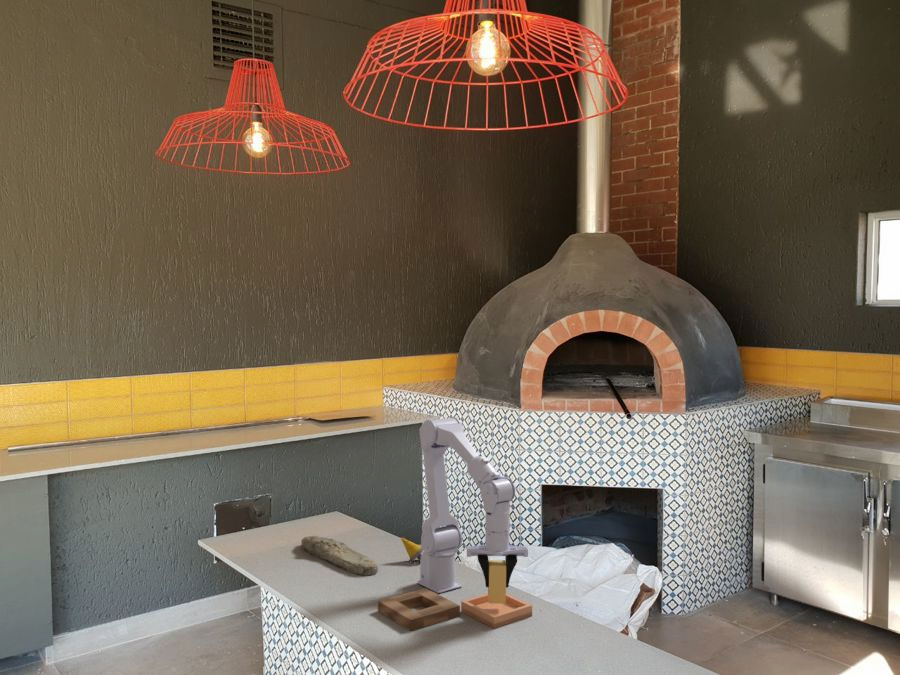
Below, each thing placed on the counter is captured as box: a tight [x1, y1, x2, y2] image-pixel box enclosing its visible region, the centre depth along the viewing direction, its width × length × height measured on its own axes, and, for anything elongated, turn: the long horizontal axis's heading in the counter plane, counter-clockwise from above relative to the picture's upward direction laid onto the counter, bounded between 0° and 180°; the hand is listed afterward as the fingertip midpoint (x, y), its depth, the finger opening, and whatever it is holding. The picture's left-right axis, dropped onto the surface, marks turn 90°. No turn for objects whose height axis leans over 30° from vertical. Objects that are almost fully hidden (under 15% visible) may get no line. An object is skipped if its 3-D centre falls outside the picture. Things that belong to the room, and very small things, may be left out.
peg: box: [487, 559, 507, 603], centre depth 179 cm, size 4×4×9 cm
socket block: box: [377, 587, 461, 632], centre depth 179 cm, size 14×14×2 cm
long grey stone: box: [300, 535, 379, 576], centre depth 217 cm, size 35×5×10 cm
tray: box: [460, 593, 533, 629], centre depth 179 cm, size 12×12×2 cm
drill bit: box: [400, 536, 424, 563], centre depth 216 cm, size 5×5×10 cm
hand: (496, 585), depth 179 cm, fingers closed on peg, 4 cm apart
